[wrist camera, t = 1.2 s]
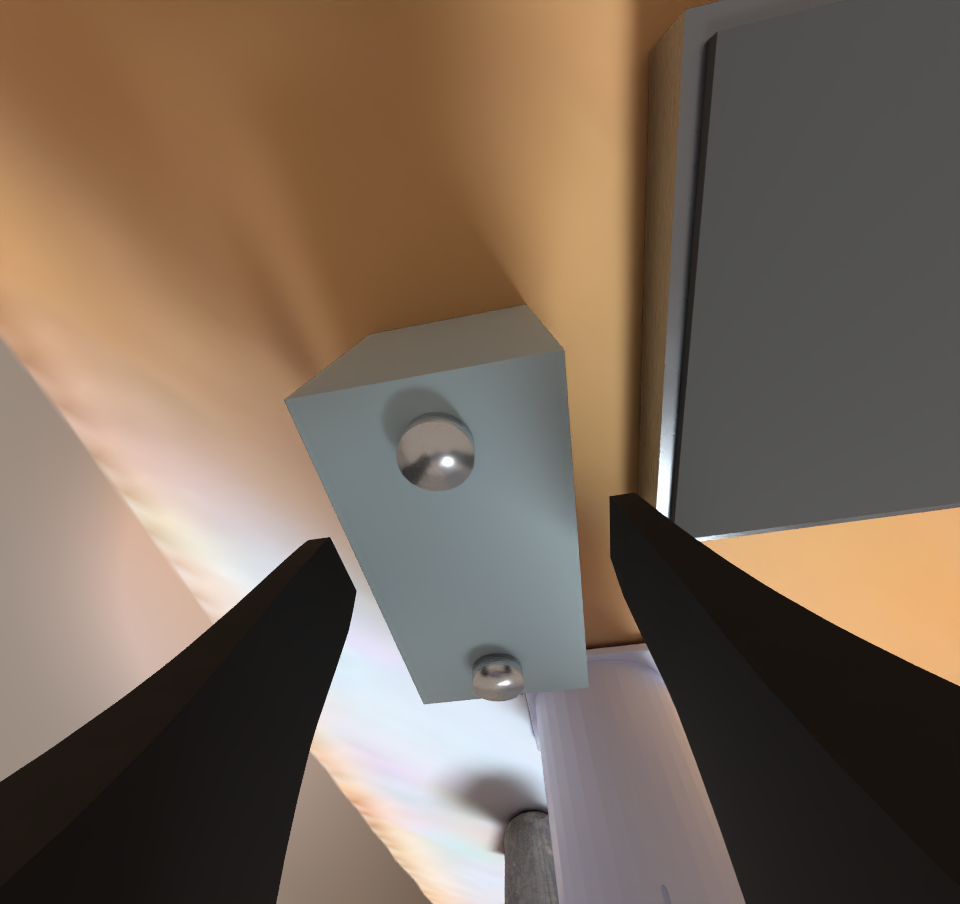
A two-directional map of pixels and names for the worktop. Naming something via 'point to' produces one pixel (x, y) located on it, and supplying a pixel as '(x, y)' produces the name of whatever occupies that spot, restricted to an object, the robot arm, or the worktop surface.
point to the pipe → (529, 860)
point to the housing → (459, 498)
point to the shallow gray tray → (802, 265)
